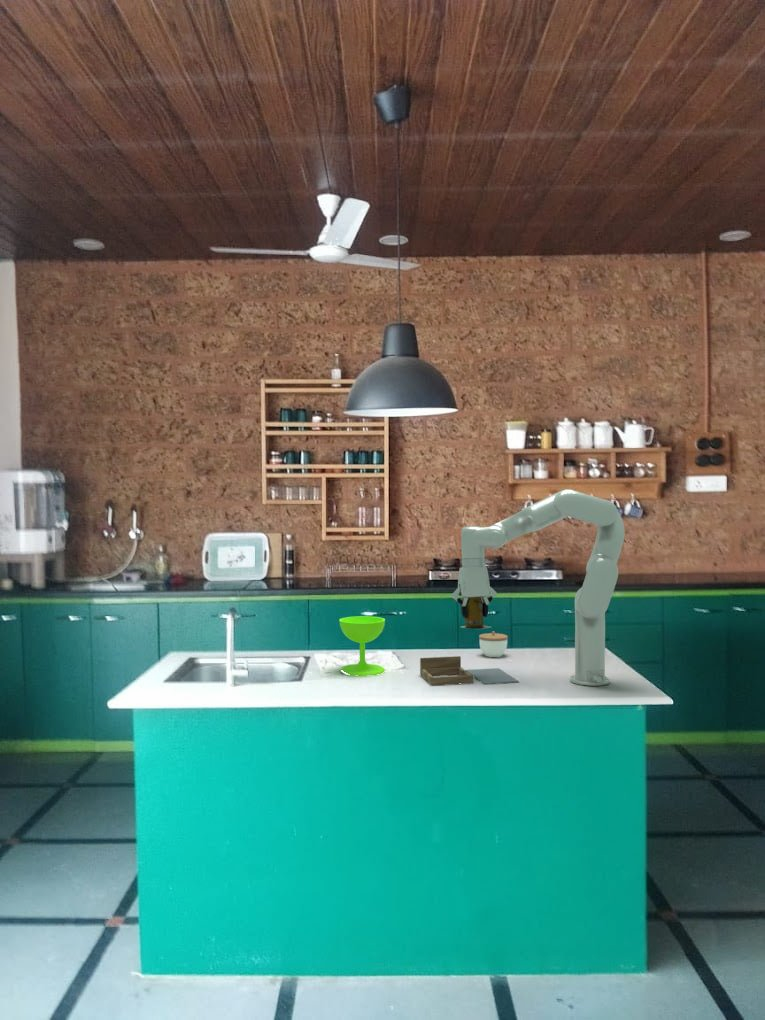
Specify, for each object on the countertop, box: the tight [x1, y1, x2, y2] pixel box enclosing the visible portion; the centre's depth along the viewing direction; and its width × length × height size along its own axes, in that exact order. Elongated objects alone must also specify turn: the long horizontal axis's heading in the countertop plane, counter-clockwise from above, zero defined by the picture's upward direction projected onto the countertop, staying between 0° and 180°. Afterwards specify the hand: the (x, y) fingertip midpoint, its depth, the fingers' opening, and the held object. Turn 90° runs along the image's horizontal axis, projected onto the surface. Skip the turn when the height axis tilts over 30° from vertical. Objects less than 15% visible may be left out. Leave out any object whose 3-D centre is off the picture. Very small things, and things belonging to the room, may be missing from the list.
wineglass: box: [338, 615, 386, 677], centre depth 295 cm, size 16×16×18 cm
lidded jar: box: [478, 630, 509, 658], centre depth 320 cm, size 11×11×9 cm
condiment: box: [461, 597, 491, 630], centre depth 283 cm, size 7×8×12 cm
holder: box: [419, 655, 474, 686], centre depth 282 cm, size 15×14×6 cm
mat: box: [465, 667, 520, 685], centre depth 286 cm, size 20×12×1 cm, turn 12°
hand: (474, 616), depth 283 cm, fingers closed on condiment, 6 cm apart
